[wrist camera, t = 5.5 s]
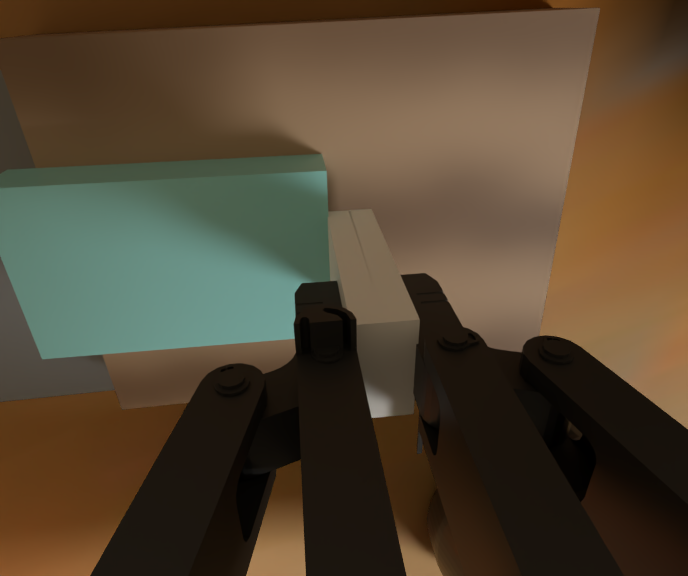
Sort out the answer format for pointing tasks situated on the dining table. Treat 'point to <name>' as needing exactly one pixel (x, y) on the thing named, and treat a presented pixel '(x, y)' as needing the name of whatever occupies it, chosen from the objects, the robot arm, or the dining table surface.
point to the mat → (8, 318)
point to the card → (163, 251)
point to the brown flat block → (340, 142)
